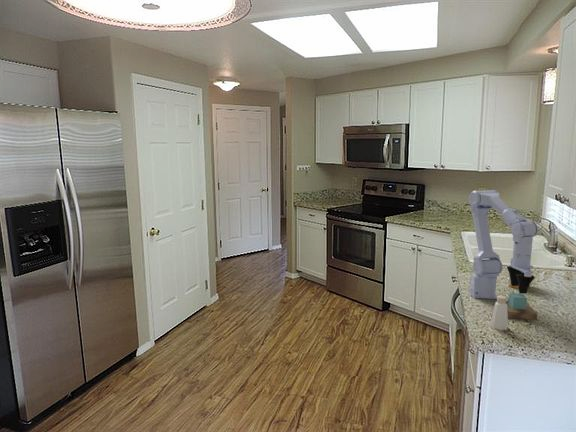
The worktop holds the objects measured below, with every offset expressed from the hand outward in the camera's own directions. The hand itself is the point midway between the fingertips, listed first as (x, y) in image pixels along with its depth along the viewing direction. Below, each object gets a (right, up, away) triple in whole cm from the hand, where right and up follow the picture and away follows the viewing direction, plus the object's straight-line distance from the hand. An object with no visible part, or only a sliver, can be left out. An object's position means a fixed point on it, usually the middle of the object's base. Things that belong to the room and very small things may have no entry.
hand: (518, 289), depth 148 cm
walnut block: (0, -9, +2) cm, 9 cm away
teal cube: (0, -7, +1) cm, 7 cm away
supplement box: (+17, -4, +31) cm, 35 cm away
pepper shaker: (-12, -12, -9) cm, 19 cm away
